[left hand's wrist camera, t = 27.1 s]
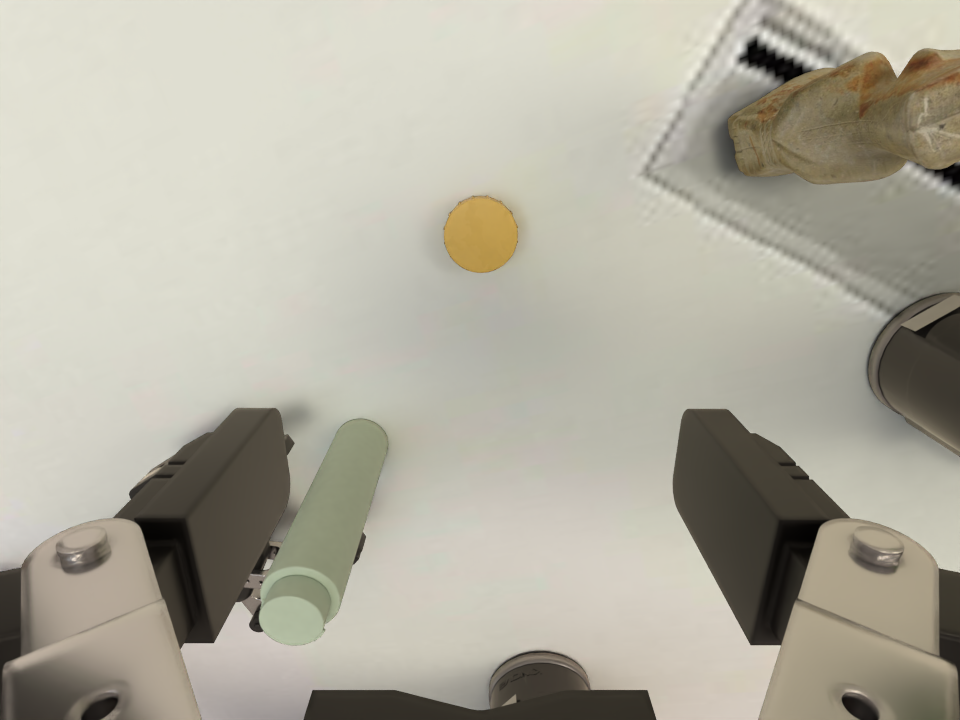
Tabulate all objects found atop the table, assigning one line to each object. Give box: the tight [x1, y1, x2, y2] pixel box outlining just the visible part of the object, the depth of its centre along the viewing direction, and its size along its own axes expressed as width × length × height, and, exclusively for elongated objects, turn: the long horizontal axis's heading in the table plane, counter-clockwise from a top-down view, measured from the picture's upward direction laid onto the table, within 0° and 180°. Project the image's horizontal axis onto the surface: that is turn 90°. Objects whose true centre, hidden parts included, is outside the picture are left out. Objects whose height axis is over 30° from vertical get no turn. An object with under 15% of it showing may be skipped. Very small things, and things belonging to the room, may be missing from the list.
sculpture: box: [728, 48, 960, 184], centre depth 28 cm, size 6×7×15 cm
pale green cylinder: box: [259, 419, 388, 646], centre depth 35 cm, size 4×4×18 cm
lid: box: [444, 195, 518, 273], centre depth 37 cm, size 5×5×2 cm
